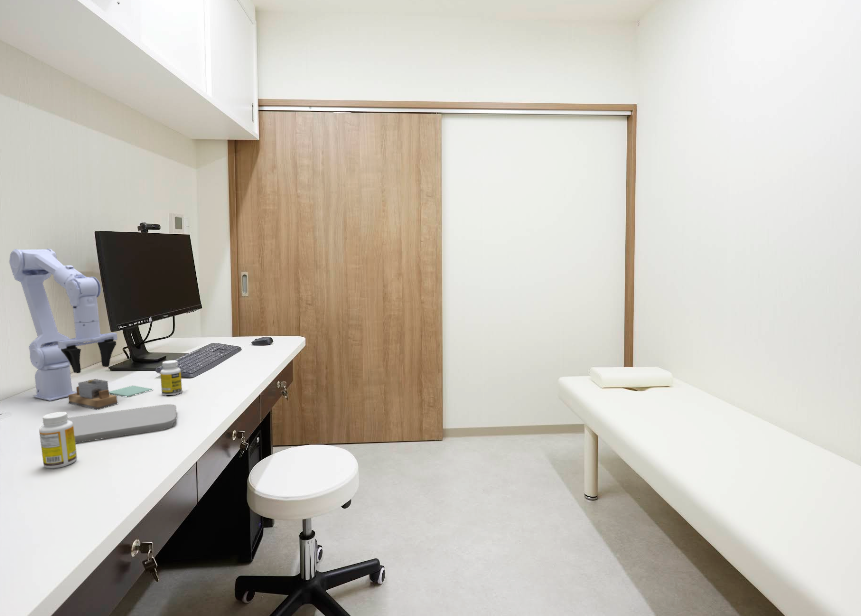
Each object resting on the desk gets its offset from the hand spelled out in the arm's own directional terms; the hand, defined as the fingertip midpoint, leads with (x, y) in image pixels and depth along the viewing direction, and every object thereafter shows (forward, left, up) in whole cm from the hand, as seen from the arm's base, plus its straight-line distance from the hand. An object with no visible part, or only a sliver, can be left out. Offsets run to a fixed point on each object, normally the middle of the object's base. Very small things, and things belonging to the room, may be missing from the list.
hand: (91, 369), depth 143 cm
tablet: (+25, -9, -11) cm, 29 cm away
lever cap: (0, 0, -8) cm, 8 cm away
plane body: (-1, 0, -10) cm, 10 cm away
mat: (-3, +12, -10) cm, 16 cm away
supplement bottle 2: (+11, +16, -10) cm, 22 cm away
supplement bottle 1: (+36, -27, -10) cm, 46 cm away
